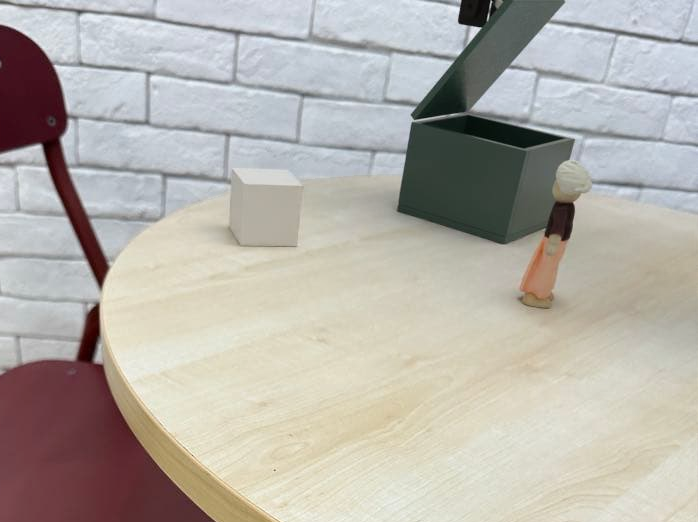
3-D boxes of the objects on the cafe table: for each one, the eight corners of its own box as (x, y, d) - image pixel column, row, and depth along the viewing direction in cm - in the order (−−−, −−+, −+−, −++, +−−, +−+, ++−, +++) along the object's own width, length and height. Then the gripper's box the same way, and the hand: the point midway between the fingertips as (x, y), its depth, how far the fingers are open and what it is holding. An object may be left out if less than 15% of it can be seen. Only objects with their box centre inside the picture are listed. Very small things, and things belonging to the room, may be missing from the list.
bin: (551, 225, 104) (575, 138, 98) (503, 244, 95) (526, 151, 90) (449, 195, 110) (466, 112, 105) (396, 210, 102) (411, 121, 96)
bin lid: (565, 2, 93) (538, -36, 93) (513, 1, 84) (483, -40, 84) (468, 111, 104) (444, 78, 104) (414, 120, 96) (388, 84, 96)
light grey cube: (297, 246, 88) (303, 185, 84) (240, 246, 86) (244, 184, 82) (282, 227, 92) (287, 169, 88) (228, 226, 90) (231, 167, 87)
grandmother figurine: (516, 284, 85) (551, 148, 77) (554, 291, 84) (594, 155, 77) (516, 312, 79) (555, 167, 71) (558, 319, 78) (602, 174, 71)
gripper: (522, -204, 75) (478, 32, 85) (598, -176, 86) (551, 29, 97) (449, -206, 78) (415, 21, 89) (532, -179, 90) (493, 20, 100)
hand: (487, 23), depth 93 cm, fingers closed on bin lid, 6 cm apart
